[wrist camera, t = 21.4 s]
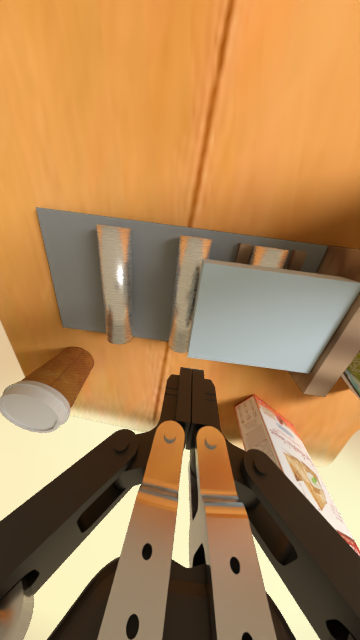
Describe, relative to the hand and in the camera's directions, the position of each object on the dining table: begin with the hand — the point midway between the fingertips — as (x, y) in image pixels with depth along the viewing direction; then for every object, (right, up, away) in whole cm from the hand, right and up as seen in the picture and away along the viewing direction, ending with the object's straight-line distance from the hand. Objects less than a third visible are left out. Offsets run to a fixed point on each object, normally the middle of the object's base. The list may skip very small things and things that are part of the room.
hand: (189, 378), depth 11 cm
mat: (-1, +8, +16) cm, 18 cm away
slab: (+9, +5, +11) cm, 15 cm away
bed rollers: (-4, +8, +15) cm, 18 cm away
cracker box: (+18, -17, +28) cm, 38 cm away
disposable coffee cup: (-21, -4, +24) cm, 32 cm away
